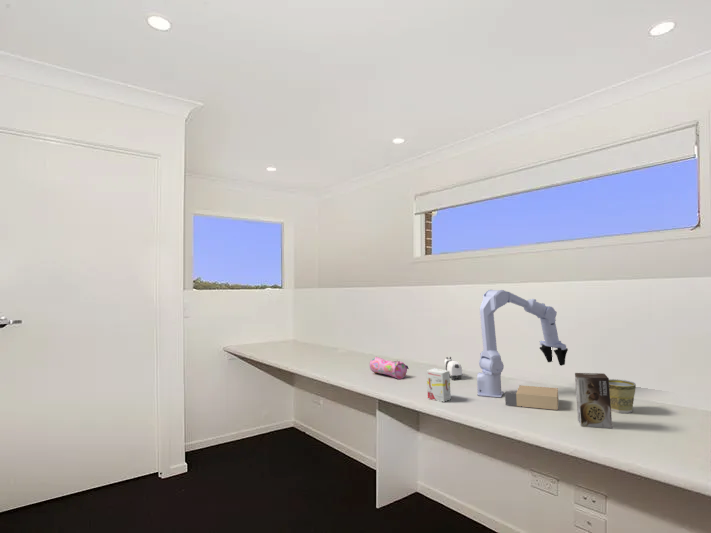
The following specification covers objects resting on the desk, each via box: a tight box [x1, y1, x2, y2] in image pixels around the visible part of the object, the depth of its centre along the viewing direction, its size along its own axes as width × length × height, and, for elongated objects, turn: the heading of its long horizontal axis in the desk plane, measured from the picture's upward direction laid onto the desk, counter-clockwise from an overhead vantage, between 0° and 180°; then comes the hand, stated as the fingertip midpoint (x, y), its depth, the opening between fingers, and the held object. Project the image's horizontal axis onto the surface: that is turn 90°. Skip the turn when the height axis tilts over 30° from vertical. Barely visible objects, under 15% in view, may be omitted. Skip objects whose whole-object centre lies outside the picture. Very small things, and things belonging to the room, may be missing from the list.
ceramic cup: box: [609, 378, 637, 414], centre depth 150 cm, size 13×10×10 cm
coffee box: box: [574, 372, 613, 429], centre depth 137 cm, size 9×6×16 cm
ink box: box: [426, 367, 452, 403], centre depth 172 cm, size 9×5×12 cm, turn 41°
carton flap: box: [504, 391, 559, 411], centre depth 156 cm, size 18×1×5 cm, turn 63°
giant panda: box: [443, 356, 463, 381], centre depth 209 cm, size 15×6×10 cm, turn 9°
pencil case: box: [369, 356, 410, 380], centre depth 217 cm, size 21×9×9 cm, turn 38°
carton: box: [516, 384, 559, 411], centre depth 161 cm, size 14×12×5 cm
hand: (556, 363), depth 183 cm, fingers open, 7 cm apart
